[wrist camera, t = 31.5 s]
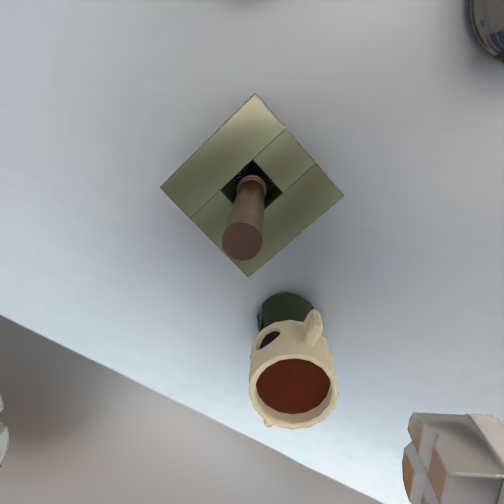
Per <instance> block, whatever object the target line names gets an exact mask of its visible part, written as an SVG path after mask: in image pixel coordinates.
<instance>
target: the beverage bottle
mask: <svg viewBox="0 0 504 504" xmlns="http://www.w3.org/2000/svg"><path fill="white" fill-rule="evenodd" d="M469 13H470V22H471V25H472V28H473V32H474V34H475V36H476V38H477V40H478V41H479V43H480V45H481V46H482V47H483V48H484V49H485V50H486V51H487V52H488V53H489V54H490V55H492V56H493V57H494V58H496V59H498V60H501V61H503V62H504V0H470V3H469Z"/></svg>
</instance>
